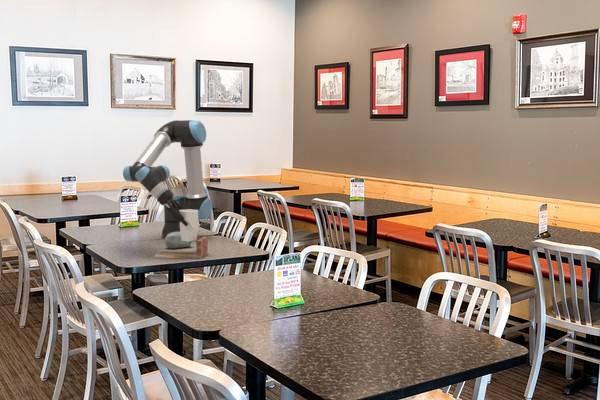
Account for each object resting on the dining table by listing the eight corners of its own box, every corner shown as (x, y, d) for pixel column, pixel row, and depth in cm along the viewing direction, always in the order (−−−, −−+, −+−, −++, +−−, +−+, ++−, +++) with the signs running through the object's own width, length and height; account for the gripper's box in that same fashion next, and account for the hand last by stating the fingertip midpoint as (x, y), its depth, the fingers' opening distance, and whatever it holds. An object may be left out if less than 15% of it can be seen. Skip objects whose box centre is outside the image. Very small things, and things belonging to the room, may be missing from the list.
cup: (200, 241, 308) (199, 210, 306) (187, 243, 303) (187, 211, 301) (190, 239, 313) (190, 209, 311) (178, 241, 308) (177, 210, 306)
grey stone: (190, 238, 339) (187, 223, 333) (195, 249, 332) (192, 234, 326) (164, 246, 335) (161, 231, 329) (169, 257, 328) (166, 242, 322)
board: (163, 252, 317) (163, 235, 316) (207, 253, 314) (207, 236, 313) (155, 257, 305) (154, 239, 304) (200, 258, 302) (200, 241, 301)
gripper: (164, 197, 318) (196, 230, 318) (148, 202, 297) (183, 237, 297) (175, 186, 317) (207, 220, 317) (159, 190, 296) (194, 226, 296)
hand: (195, 228), depth 307 cm, fingers closed on cup, 9 cm apart
